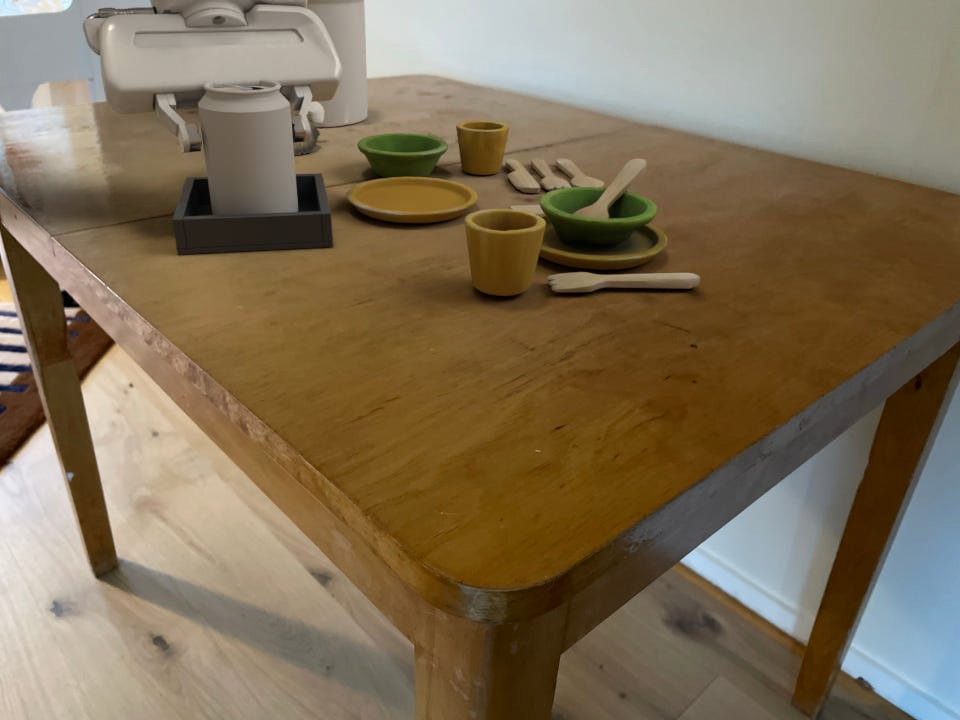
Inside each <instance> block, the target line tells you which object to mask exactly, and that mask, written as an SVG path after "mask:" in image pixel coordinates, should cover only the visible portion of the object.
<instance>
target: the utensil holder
mask: <svg viewBox="0 0 960 720" xmlns="http://www.w3.org/2000/svg"><path fill="white" fill-rule="evenodd" d="M307 9H309V10H311V11H312V12H314V13H315V14H316V15H317V16H318V17H319V18H320V20H321V21H322V22H323V24H324V26H325V28H326V29H327V31H328V33H329V35H330V38H331V40H332V42H333V44H334V46H335V49H336V51H337V54H338V56H339V59H340V62H341V65H342V69H343V75H342V80H341V83H340V86H339V88H338V90H337V92H336V94H335V95H334V97H333V98H332V99H331V100H329V101H316V102H318V103H320V104H321V105H322V106H323V109H324V112H325V114H324V121H323V123H320V124H318V123H313V125H314V126H315V128H334V127H336V128H337V127H342V126H349V125H354V124H357V123H361V122H363V121H364V120H366V119H367V117H368V74H367V73H368V70H367V42H366V41H367V39H366V37H367V36H366V12H365V11H366V9H365V0H307ZM311 123H312V122H311Z"/></svg>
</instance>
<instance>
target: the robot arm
mask: <svg viewBox="0 0 960 720" xmlns="http://www.w3.org/2000/svg"><path fill="white" fill-rule="evenodd" d="M149 2H150V5H151V6H144V7H143V6H142V7H141V6H139V7H137V6H136V7H128V8H116V7H102V8H98V9H97V12H95V13H92V14H90V15H88V16H87V17H86V18H85V19H84V21H83V23H82V29H83V33H84V37H85V40H86V44H87V45H88V47H89V48H90V50H92V52H93V53H94V54H95V55H97V56H99V63H100V74H101V82H102V87H103V94H104V98H105V102H106V104H107V106H109V108H111V109H112V110H114V111H115V112H117V113H118V114H120V115H132V114H148V113H150V114H151V113H155V114H156V117H157V121H158V123H160V124H161V125H162V126H163V127H164V128H166V129H167V131H168V132H170V133H171V134H172V135H173V136H174V137H177V140H178V143H179V147H180V149H181V152H182V154H184V153H196V152H202V146H203V139H202V135H201V134H200V133H199V132H200V130H199V126H198V123H196V122H194V123H187V122H186V121H185V120H184V119H183V118H182V117H181V116H180V115H179V114H178V113H177V112H178V111H179V112H180V111H194V110H199V109H198V103H199V101H200V100H201V99H202V97H203V96H204V95H205V93H206V90H205V89H204V87H203V85H204V84H206V83H208V82H212V83H213V87H214V88H225V87H224V86H222V84H230V85H237V86H259V84H260V82H259V80H270V81H274V82H277V83H279V84H280V85H281V88H280V89H279V90H280V93H281V94H282V95H283V96H284V97H285V98H286V99H287V100H288V102H289V103H291V106H292V109H293V110H294V111H299V110H300V112H299V115H298V116H291V122H292V135H293V143H297V142H308V141H309V139H310V136H311V128H310V125H309V122H308V119H307V114H308V111H309V107H310V104H311V102H316V101H329V100H331V99H332V98H333V97H334V95H335V94H336V92H337V90H338V88H339V86H340V83H341V80H342V75H343V69H342V65H341V62H340V59H339V56H338V54H337V51H336V49H335V46H334V44H333V42H332V40H331V38H330V35H329V33H328V31H327V29H326V28H325V26H324V24H323V22H322V21H321V20H320V18H319V17H318V16H317V15H316V14H315V13H314V12H312V11H311V10H309V9H307V0H149ZM249 88H258V87H249Z"/></svg>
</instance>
